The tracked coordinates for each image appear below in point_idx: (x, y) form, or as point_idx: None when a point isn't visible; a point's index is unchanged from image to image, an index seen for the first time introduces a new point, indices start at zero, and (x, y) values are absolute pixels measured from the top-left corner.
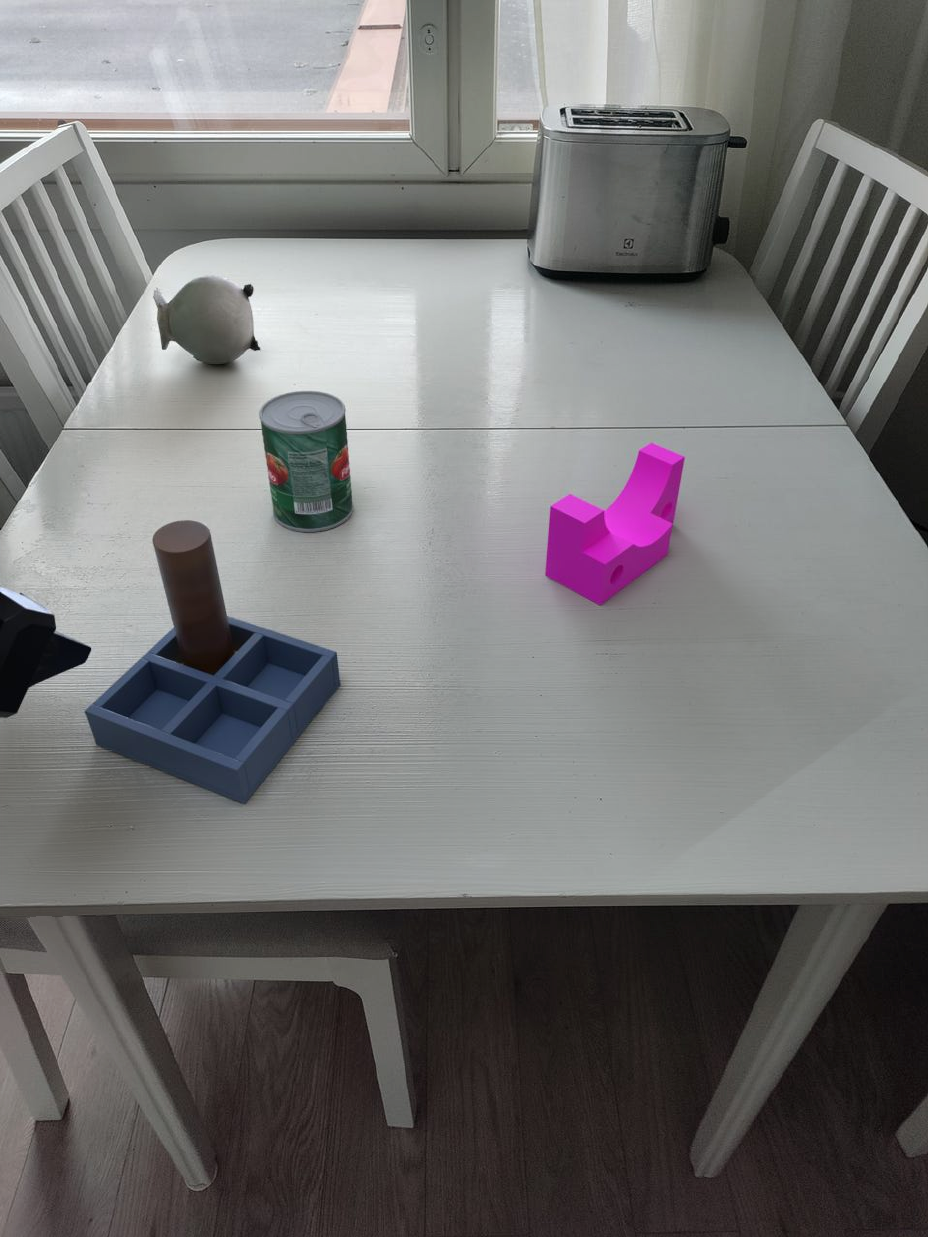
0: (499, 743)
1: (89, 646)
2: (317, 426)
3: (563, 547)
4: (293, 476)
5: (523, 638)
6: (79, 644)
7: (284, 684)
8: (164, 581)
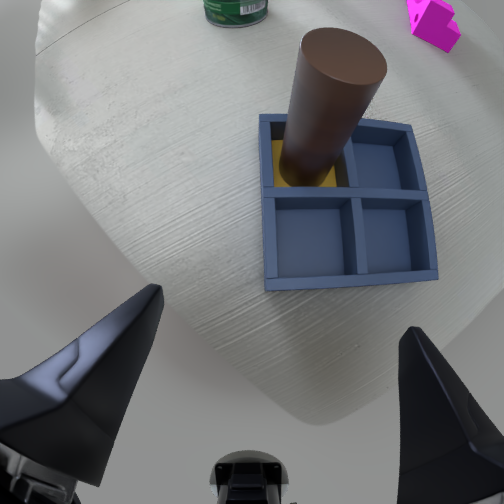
0: (487, 161)
1: (421, 330)
2: None
3: (432, 22)
4: None
5: (442, 79)
6: (441, 355)
7: (367, 158)
8: (321, 119)
